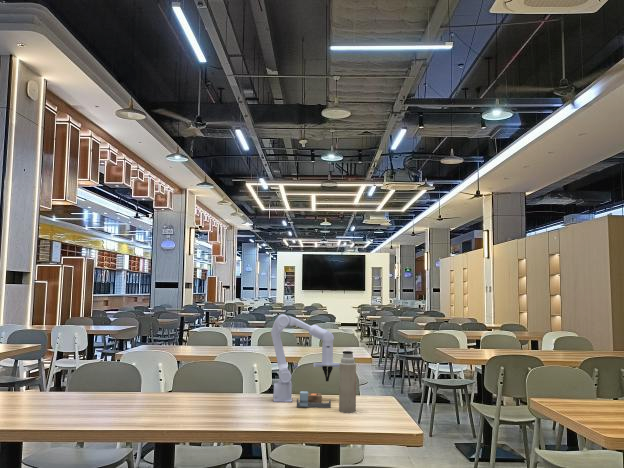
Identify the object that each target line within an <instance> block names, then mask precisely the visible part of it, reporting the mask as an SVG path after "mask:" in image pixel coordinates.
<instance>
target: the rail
mask: <svg viewBox="0 0 624 468" xmlns="http://www.w3.org/2000/svg"><path fill="white" fill-rule="evenodd" d="M296 408H308V409H309V408H310V409H311V408H312V409H313V408H315V409H321V408H322V409H331V408H332V400H331V399H330V398H329V399H328V402H326V401H325V402H323V401H322V402H308V406H300V398H296Z"/></svg>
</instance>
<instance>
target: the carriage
mask: <svg viewBox="0 0 624 468" xmlns="http://www.w3.org/2000/svg"><path fill="white" fill-rule="evenodd" d="M308 393H309V391H302V390H301V391H299V402H300V406H308Z"/></svg>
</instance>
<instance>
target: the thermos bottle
mask: <svg viewBox="0 0 624 468" xmlns="http://www.w3.org/2000/svg"><path fill="white" fill-rule="evenodd" d="M353 353H354V351H351V350H344V351H342V357H341V358H340V362H339V363H340V367H338V368H339V369H338V370H339V373H338V375H339V376H338V377H339V379H338V380H339V382H338V384H339V385H338V387H339V388H338V395H339V396H338V411H339V412H340V413H346V414H348V413H349V414H350V413H352V414H353V413H355V412H357V408H356V407H357V363H356V360H355V358H354V355H353Z"/></svg>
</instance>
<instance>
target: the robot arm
mask: <svg viewBox="0 0 624 468" xmlns="http://www.w3.org/2000/svg"><path fill="white" fill-rule="evenodd" d="M288 326H290V327H291V326H296V327H298V328H300V329H302V330H305V331H307V332H308V333H309V335H310V336H312V337H314V338H316V339H318V340H322V346H321V347H322V348H321V352H322V353H321V362H313V368H322V371H323V374H324V377H325V382H329V380H330V376H331V373H332V371H333V368H339V367H340V363H341V362H334V340H335V336H334V334H333V333H332V331H329V330H327V329H326V328H322V327H320V325H319V324H312V325H310V324H308V323H307V322H304V321H302V320H300V319H298V318H296V317H293V316H290V315H287V314H284V313H281V314H279V315H278V316H277V317H276V319H275V320H274V322H273V325H272V327H271V330H270V335H271V339H272V343H273V348H274V352H275V357H276V361H277V365H278V371H279V372H278V379H279V380H278V381H277V382H274V384H273V394H272V395H273V396H272V398H273V402H274V403H275V402H277V403H279V402H281V403H283V402H284V403H285V402H286V403H291V402H293V398H292V394H293V391H292V390H293V389H292V388H293V383H292V373H291V371H290V370H289V367H288V363H287V359H286V354H285V351H284V346H283V342H282V341H283V340H282V337H281V333H282V331H283V330H284V329H285V328H287V327H288Z"/></svg>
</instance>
